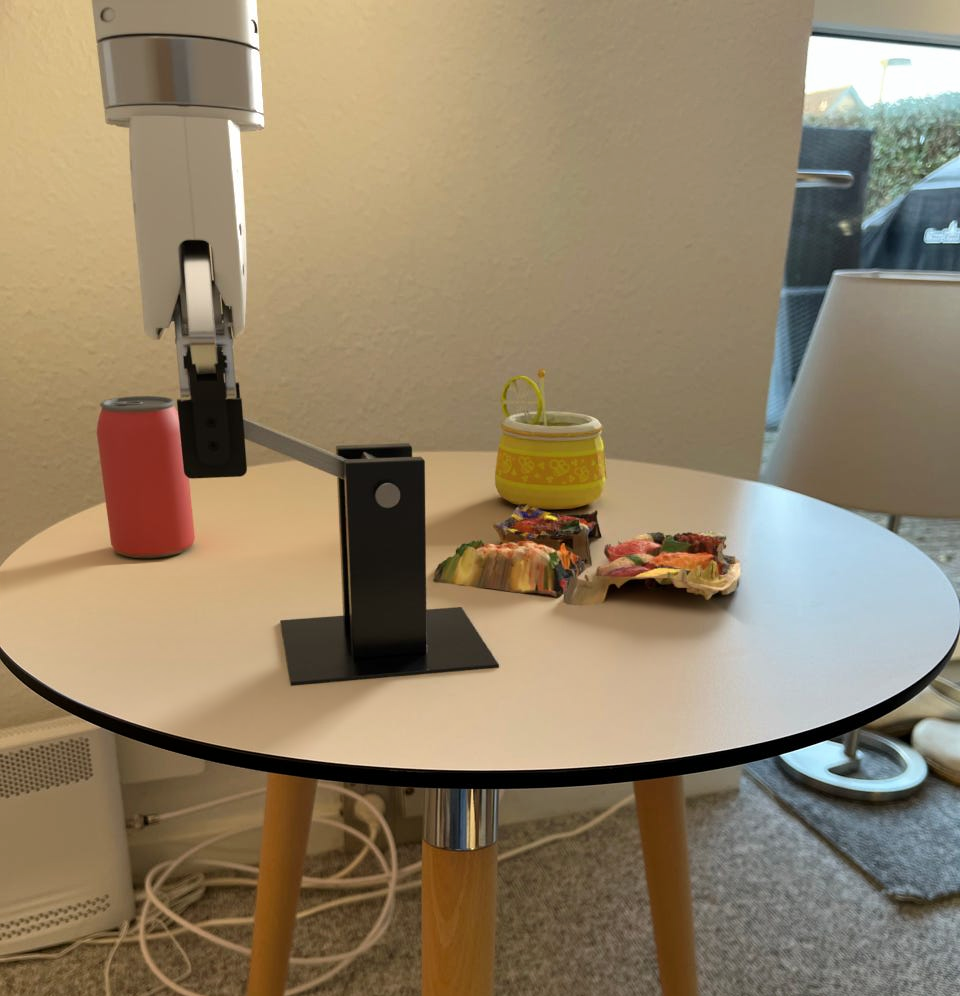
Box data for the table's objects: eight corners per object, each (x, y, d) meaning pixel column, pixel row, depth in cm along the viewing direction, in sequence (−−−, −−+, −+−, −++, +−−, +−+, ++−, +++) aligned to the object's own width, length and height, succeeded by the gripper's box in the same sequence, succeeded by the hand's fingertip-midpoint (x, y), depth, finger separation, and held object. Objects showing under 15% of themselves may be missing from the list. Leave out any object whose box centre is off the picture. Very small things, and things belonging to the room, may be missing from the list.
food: (756, 561, 82) (761, 519, 81) (722, 642, 66) (727, 590, 64) (500, 532, 89) (501, 492, 88) (412, 598, 73) (411, 550, 72)
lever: (194, 439, 53) (210, 396, 52) (195, 423, 57) (211, 383, 57) (400, 522, 57) (417, 483, 57) (387, 500, 62) (402, 464, 61)
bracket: (291, 701, 57) (277, 476, 52) (281, 637, 66) (267, 439, 61) (499, 682, 60) (503, 466, 55) (461, 623, 69) (462, 432, 64)
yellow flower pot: (618, 513, 96) (627, 383, 91) (504, 516, 94) (507, 384, 90) (585, 482, 108) (591, 366, 103) (483, 485, 106) (484, 367, 102)
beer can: (126, 537, 87) (109, 394, 82) (204, 538, 87) (190, 395, 82) (100, 560, 81) (80, 407, 76) (184, 561, 81) (168, 408, 76)
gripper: (117, 109, 56) (153, 438, 63) (80, 63, 41) (134, 506, 48) (255, 114, 58) (276, 434, 65) (271, 72, 42) (296, 498, 49)
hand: (215, 461), depth 56 cm, fingers closed on lever, 5 cm apart
